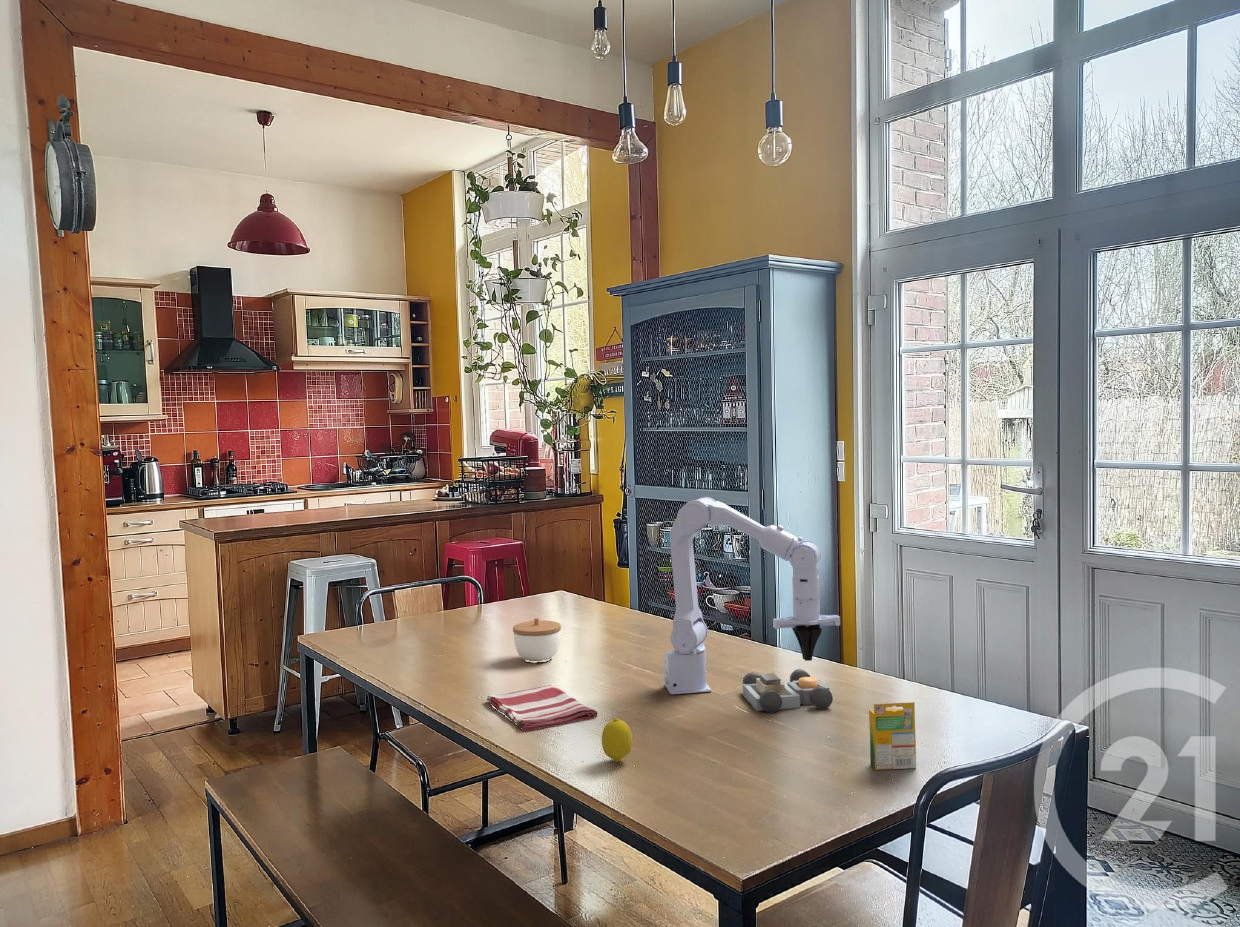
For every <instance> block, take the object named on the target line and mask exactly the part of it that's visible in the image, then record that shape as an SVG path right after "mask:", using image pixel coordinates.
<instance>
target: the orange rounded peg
mask: <svg viewBox="0 0 1240 927" xmlns="http://www.w3.org/2000/svg"><path fill="white" fill-rule="evenodd" d="M817 680H818V679H817V678H816V677H811V676H810V677H802V678H799V687H800V688H801V689H805V688H815V687H817V686H818V684H817Z"/></svg>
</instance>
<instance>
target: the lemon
mask: <svg viewBox="0 0 1240 927" xmlns="http://www.w3.org/2000/svg"><path fill="white" fill-rule="evenodd" d="M632 746H633V735H632V732H631V728H630V727H629V725H628V723H626V722H625V721H624V720H621V719H619V718H618V717H616V718H614V719H612V720H610V721H608V722H607V723H606V724H605V726H604V727H603V729H602V733H601V747H602V750H603V752H604V754H605V755H606V756H607V757H608V758H610V759H612V760H614V761H615V762H616V763H619V762H621V760H622V759H625V757H627V756H628V755H630V753H631V752H630V751H631V750H632Z"/></svg>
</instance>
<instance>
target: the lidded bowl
mask: <svg viewBox="0 0 1240 927" xmlns="http://www.w3.org/2000/svg"><path fill="white" fill-rule="evenodd" d="M561 627H562V626H561V623H559V622H557V621H555V620H545V619H544V620H543V619H542V620H541V619H540V618H539V617H535V618H533V620H530V621H529V620H528V621H524V622H523V621H522V622H520V623H519V622H518V623H516V624H514V625H513V626H512V632H513V641H514V642H513V643H514V647H515V650H516V653H517V654H518V655H519V656H520V657H521V658H522V659H523V660H524V659H525V660H529V661H542V660H548V659H551V658H553V657H554V656H555V655H556V654H557V652H558V651H559V648H560V645H561V644H560V643H561V629H562V628H561ZM551 660H552V659H551Z"/></svg>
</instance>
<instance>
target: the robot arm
mask: <svg viewBox="0 0 1240 927" xmlns="http://www.w3.org/2000/svg"><path fill="white" fill-rule="evenodd" d="M709 525H710V526H723V525H726V526H728V527H730V528H732V529H735V530H737V531H739V532H740V533H743V534H746V535H747V536H750V537H751V538H753V539H756V540H757V541H758V543H759V546H760V548H761V549H763V550H764V551H766V552H768V553H771V554H772V555H774V556H776V557H778V558H780V559H781V560H784V561H786V562H789V564H790V565H791V567H792V615H791V616H784V617H777V618H772V628H774V629H775V630H781V629H789V628H790V629H792V632H793V633H794V636H796V640H797V642H798V644H799V645H798V646H799V647H800V650H801V651H800V652H801V656H802V659H803V660H804V661H805V662H809V661H812V660H813V656H814V651H815V647H816V645H817V643H818V640H819V638H820V637H821V635H822V628H821V627H825V626H826V627H827V626H841V616H840V615H837V614H831V615H830V614H829V615H828V614H827V615H826V614H820V613H821V611H820V610H821V605H820V604H821V603H820V602H821V601H820V600H821V599H820V577H819V573H820V570H819V565H818V563H819V562H820V559H821V551H820V548H819V546H818V545H816V544H815V543H813V541H812V540H804V537H802V536H800V535H799V536H796V535H793V534H791V533H789V532H787V531H786V530H784V529H785V528H784V527H785V526H783V525H781V524H778V525H777V526H776V525H774V524H770V525H767V526H764V525H762V524H761V523H759V522H757V521H756V520H754V519H752V518H750V517H748V516H746V515H745V514H743V513H742V512H740V511H738V510H736V509H734V508H732V506H729V505H728V504H726V503H724V502H721V501H719V500H715V499H714V498H712V497H709V496H701V497H700V498H697V499H694V500H692V499H691V500H690V501H688V502H686V503H685V504H684V505H683V506H682V507H681V508H680V509H679V510H678V511H677V516H676V518H675V520H674V522H673V525H672V526H671V528H670V531H669V545H670V546H669V547H670V556H671V569H672V577H673V579H672V580H673V590H674V601H675V613H674V616H673V619H672V625H673V627H672V631H671V633H670V639H669V640H670V643H671V646H672V647H673V650H670V651H665V652H664V658H663V660H664V662H663V663H664V686H665V688H666V689H667V691H668V693H669V694H670V695H682V694H693V693H694V694H695V693H707V692H708V693H711V692H712V688H711V687H710V686H709V684H708V683H707V660H706V658H707V657H706V656H707V655H706V654H707V653H706V646H705V644H704V641H705V640H706V638H707V637H708V633H709V632H708V627H707V623H705V621H704V617H703V612H702V610H701V609H700V607H699V597H698V588H697V587H698V586H697V578H696V577H697V576H696V565H695V554H694V538H695V537H696V536H697V535H698V534H699V533H700V532H701V531H702V530H703V528H705V527H708V526H709Z"/></svg>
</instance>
